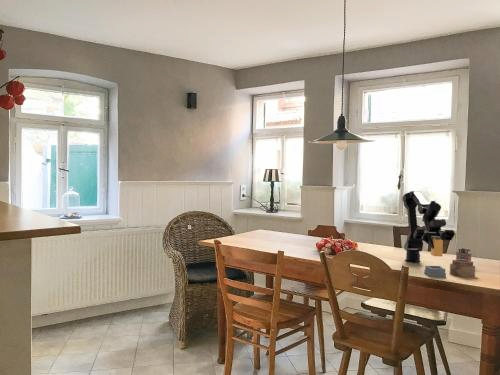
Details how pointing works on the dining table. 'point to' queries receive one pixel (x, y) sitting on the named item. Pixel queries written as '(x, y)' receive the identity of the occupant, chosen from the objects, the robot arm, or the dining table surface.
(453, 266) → the upper dock
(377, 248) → the dining table surface
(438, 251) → the plug
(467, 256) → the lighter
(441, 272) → the lower dock
